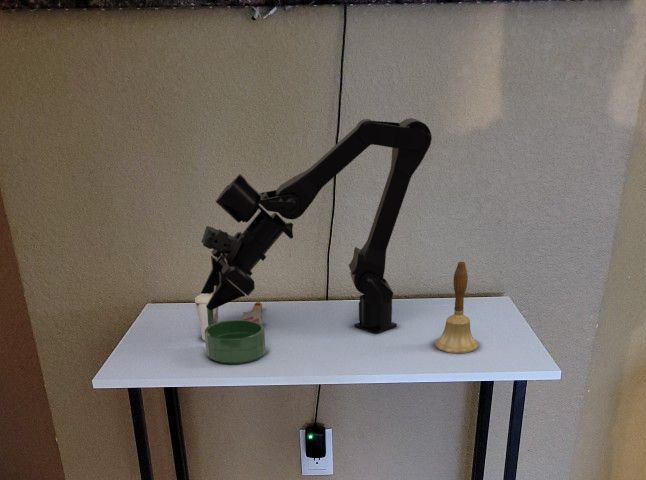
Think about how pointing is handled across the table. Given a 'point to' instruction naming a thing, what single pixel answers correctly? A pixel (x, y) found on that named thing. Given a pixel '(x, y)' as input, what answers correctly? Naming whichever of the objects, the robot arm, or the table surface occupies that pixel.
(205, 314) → the milkshake
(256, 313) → the paintbrush
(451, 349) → the hand bell
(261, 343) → the bowl
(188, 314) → the table surface
